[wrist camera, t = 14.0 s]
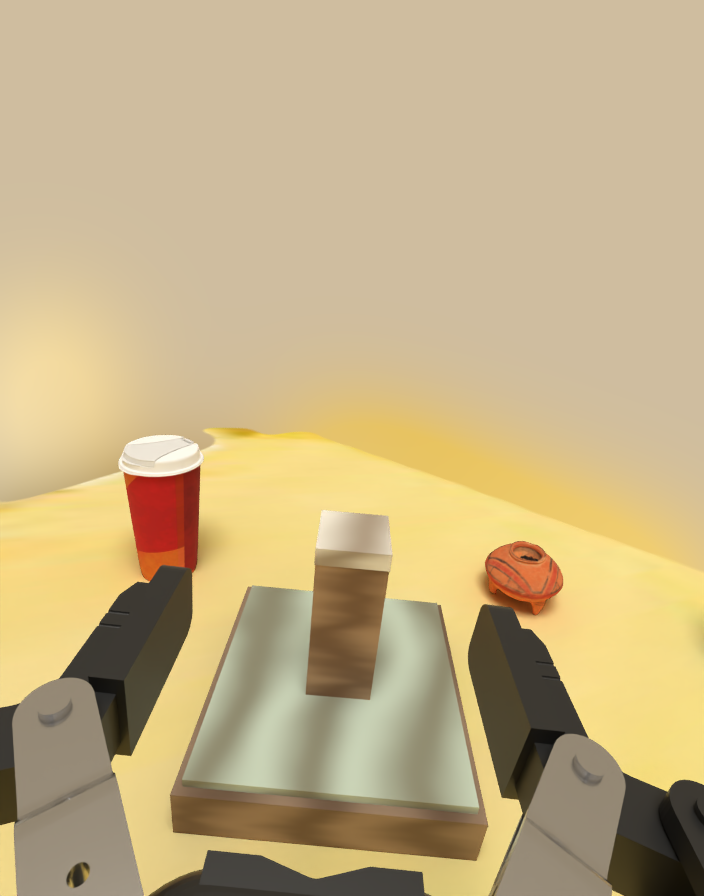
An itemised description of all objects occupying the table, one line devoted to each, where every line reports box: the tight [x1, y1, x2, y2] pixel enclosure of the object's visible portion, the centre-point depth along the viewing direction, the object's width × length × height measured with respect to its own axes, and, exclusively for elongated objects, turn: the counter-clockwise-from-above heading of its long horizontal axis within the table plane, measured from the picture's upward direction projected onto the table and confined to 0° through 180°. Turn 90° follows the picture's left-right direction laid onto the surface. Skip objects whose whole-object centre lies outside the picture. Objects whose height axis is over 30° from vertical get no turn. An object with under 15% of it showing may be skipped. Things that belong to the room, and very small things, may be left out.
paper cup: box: [118, 435, 204, 581], centre depth 47 cm, size 8×8×14 cm
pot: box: [485, 541, 563, 615], centre depth 49 cm, size 8×8×7 cm
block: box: [306, 510, 392, 700], centre depth 32 cm, size 5×5×12 cm
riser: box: [170, 586, 488, 860], centre depth 35 cm, size 18×18×4 cm
